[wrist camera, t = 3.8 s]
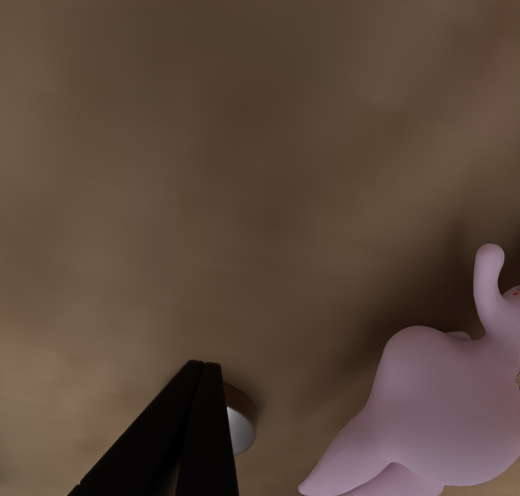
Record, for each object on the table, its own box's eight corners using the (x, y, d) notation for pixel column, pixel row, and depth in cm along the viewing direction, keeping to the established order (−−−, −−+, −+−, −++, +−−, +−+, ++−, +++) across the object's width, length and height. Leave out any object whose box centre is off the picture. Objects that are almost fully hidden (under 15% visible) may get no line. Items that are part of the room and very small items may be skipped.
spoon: (169, 521, 22) (163, 543, 21) (105, 501, 21) (96, 522, 20) (274, 403, 14) (273, 428, 13) (179, 366, 13) (170, 389, 12)
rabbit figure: (569, 71, 8) (248, 425, 13) (1210, -10, 3) (238, 654, 8) (705, 204, 9) (367, 480, 14) (1319, 335, 4) (432, 709, 9)
